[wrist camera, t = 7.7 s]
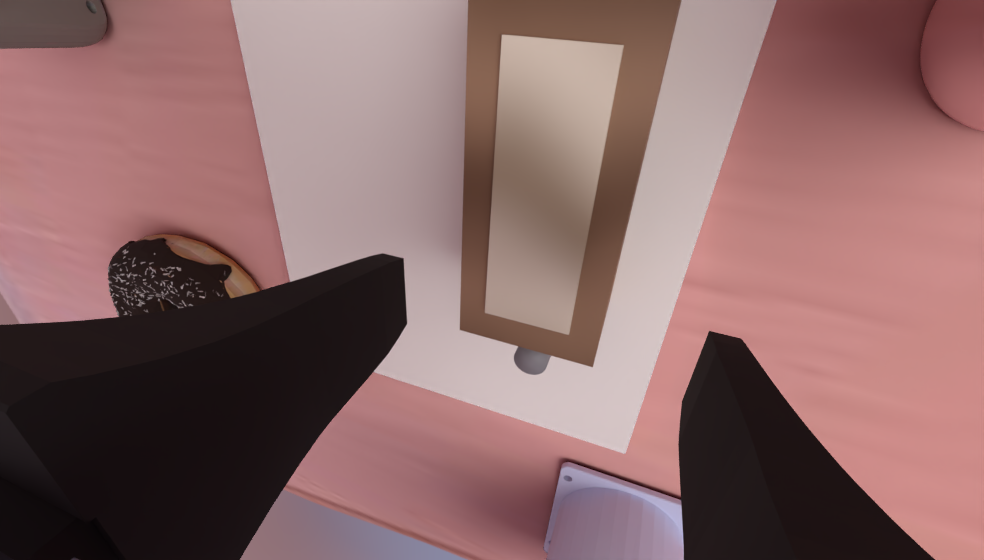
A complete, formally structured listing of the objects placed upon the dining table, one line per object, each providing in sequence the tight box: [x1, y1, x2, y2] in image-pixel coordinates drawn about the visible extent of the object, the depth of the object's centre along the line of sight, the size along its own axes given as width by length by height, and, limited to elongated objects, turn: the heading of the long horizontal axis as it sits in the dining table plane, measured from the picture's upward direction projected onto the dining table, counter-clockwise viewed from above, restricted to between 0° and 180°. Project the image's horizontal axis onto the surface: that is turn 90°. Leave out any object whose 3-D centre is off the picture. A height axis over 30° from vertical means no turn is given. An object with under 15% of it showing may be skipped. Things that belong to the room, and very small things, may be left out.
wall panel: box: [231, 0, 777, 454], centre depth 19 cm, size 22×20×4 cm
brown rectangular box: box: [460, 0, 682, 367], centre depth 15 cm, size 11×5×5 cm, turn 177°
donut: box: [108, 234, 260, 317], centre depth 30 cm, size 11×12×4 cm
